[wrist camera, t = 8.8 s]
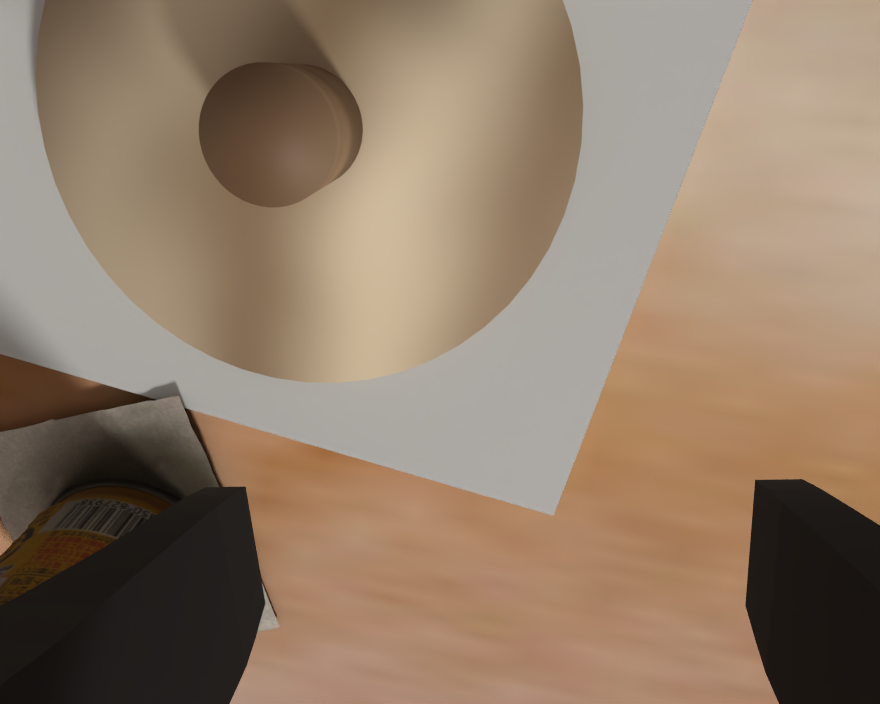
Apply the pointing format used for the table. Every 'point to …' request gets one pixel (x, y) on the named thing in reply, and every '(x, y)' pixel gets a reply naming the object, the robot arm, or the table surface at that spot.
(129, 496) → the condiment
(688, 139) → the mat
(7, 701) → the robot arm
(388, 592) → the table surface
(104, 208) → the lid
